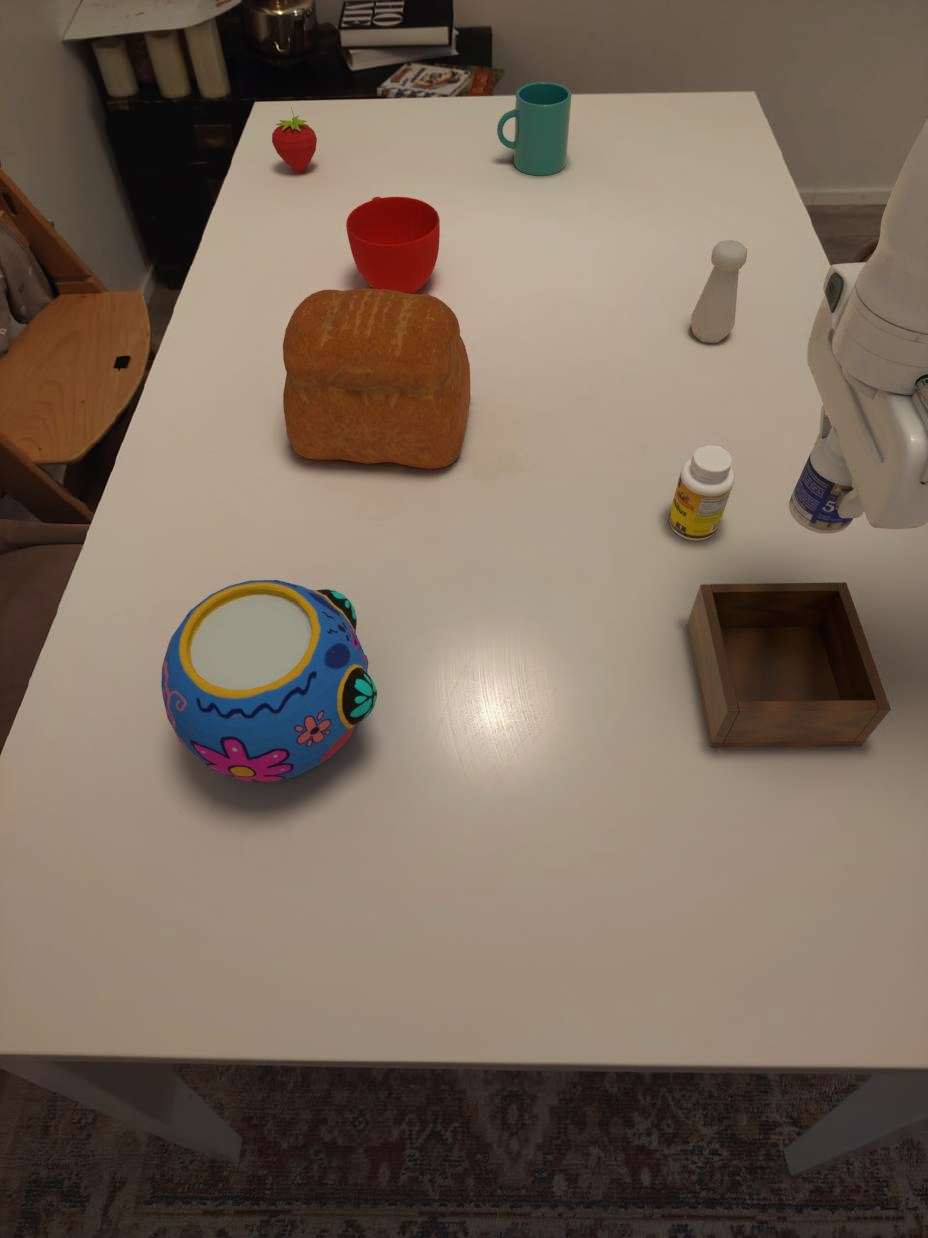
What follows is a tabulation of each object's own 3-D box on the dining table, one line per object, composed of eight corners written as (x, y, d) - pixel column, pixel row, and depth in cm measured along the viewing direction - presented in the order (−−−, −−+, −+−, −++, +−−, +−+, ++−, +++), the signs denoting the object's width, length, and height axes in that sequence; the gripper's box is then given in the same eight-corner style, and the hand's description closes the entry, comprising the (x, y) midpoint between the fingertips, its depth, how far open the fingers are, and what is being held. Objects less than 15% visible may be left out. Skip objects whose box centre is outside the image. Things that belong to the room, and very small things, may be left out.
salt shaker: (699, 317, 116) (721, 228, 105) (737, 331, 114) (763, 241, 103) (680, 338, 113) (700, 248, 103) (718, 353, 111) (743, 263, 101)
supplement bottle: (663, 507, 95) (680, 440, 86) (711, 505, 95) (733, 438, 87) (672, 544, 92) (691, 477, 83) (722, 542, 92) (746, 475, 83)
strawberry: (280, 164, 144) (268, 101, 136) (323, 163, 144) (314, 101, 136) (275, 181, 141) (263, 118, 133) (319, 180, 141) (310, 117, 133)
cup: (494, 154, 145) (495, 82, 136) (562, 151, 145) (568, 80, 136) (498, 179, 140) (499, 107, 131) (568, 176, 140) (574, 104, 131)
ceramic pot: (397, 780, 75) (381, 696, 63) (202, 834, 73) (146, 758, 61) (357, 630, 85) (336, 533, 73) (183, 673, 83) (132, 580, 70)
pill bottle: (813, 543, 68) (852, 464, 61) (775, 501, 71) (808, 420, 64) (865, 524, 69) (910, 443, 62) (825, 483, 72) (864, 402, 65)
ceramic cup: (420, 242, 129) (416, 176, 121) (453, 301, 119) (451, 234, 111) (339, 257, 127) (330, 192, 118) (367, 319, 117) (358, 253, 109)
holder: (822, 624, 85) (846, 582, 79) (860, 747, 77) (891, 709, 71) (685, 626, 85) (700, 583, 79) (709, 748, 77) (728, 711, 71)
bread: (315, 378, 110) (291, 259, 96) (475, 389, 108) (474, 269, 94) (282, 470, 99) (250, 351, 86) (458, 483, 98) (455, 364, 84)
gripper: (1013, 438, 50) (914, 581, 61) (907, 252, 62) (841, 400, 73) (908, 438, 50) (829, 581, 61) (823, 253, 62) (770, 401, 73)
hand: (835, 481), depth 67 cm, fingers closed on pill bottle, 5 cm apart
